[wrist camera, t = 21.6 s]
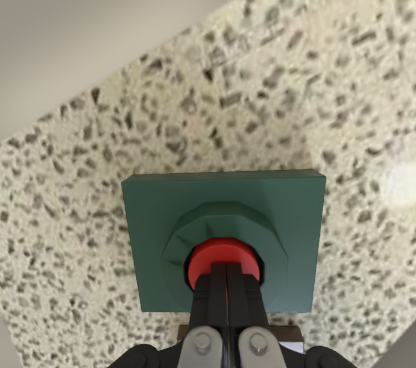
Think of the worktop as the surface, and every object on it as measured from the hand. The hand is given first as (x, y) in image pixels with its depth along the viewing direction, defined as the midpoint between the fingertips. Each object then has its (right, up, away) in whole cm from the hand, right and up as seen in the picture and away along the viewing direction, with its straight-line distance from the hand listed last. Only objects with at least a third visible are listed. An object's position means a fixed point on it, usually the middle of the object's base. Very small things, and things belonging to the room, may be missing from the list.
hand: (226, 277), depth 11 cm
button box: (0, +1, +4) cm, 4 cm away
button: (0, +1, +2) cm, 2 cm away
